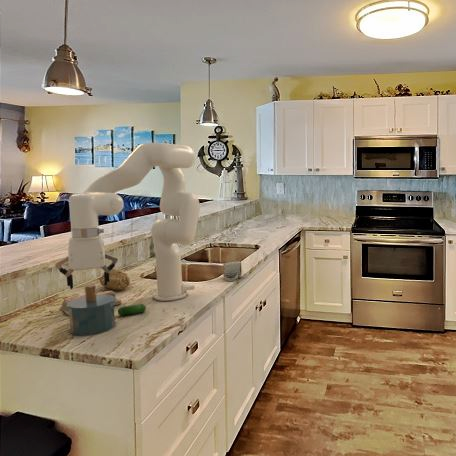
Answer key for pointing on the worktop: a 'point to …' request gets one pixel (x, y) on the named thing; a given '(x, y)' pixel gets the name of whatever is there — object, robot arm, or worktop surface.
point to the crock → (92, 320)
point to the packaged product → (65, 301)
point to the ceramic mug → (232, 270)
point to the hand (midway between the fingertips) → (89, 286)
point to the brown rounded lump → (116, 280)
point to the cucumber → (131, 309)
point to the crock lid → (90, 300)
